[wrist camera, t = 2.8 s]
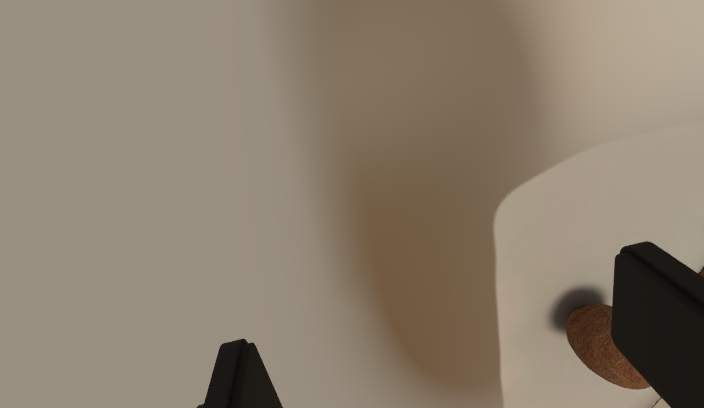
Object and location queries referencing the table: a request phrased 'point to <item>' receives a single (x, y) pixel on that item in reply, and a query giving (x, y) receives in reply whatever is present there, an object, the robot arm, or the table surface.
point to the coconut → (601, 346)
